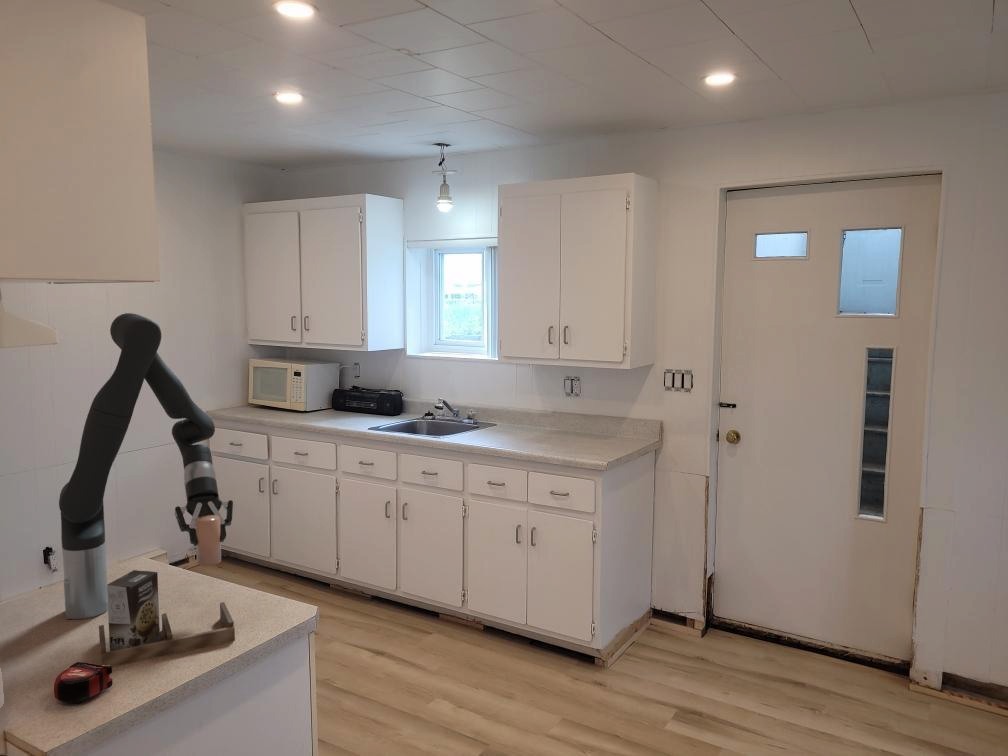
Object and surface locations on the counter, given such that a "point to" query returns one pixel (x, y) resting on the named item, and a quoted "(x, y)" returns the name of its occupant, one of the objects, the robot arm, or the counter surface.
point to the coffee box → (133, 610)
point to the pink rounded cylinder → (208, 540)
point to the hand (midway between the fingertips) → (209, 542)
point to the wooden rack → (168, 642)
